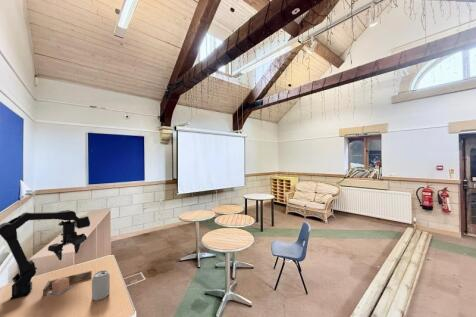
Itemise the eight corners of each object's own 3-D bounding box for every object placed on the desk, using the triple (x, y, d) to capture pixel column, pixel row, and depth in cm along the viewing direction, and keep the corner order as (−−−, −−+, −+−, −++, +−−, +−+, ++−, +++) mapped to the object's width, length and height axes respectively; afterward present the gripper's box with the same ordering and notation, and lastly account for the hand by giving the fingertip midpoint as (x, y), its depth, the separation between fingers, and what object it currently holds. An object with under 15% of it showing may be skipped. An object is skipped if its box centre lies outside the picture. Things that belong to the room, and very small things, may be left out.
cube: (51, 292, 106) (52, 282, 106) (62, 286, 111) (62, 277, 111) (59, 293, 105) (59, 283, 105) (69, 287, 110) (69, 278, 110)
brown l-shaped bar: (42, 296, 103) (43, 289, 103) (48, 287, 110) (48, 281, 110) (89, 284, 113) (89, 277, 113) (91, 276, 121) (91, 270, 121)
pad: (58, 295, 104) (58, 294, 104) (48, 293, 105) (48, 292, 105) (72, 286, 111) (72, 286, 111) (62, 285, 112) (62, 285, 112)
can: (112, 294, 104) (112, 270, 104) (97, 303, 97) (97, 278, 97) (103, 290, 107) (103, 268, 107) (88, 299, 100) (88, 275, 100)
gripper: (62, 237, 111) (62, 265, 111) (93, 227, 129) (93, 251, 129) (47, 236, 114) (47, 263, 113) (80, 226, 132) (79, 249, 131)
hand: (68, 256), depth 121 cm, fingers open, 9 cm apart
